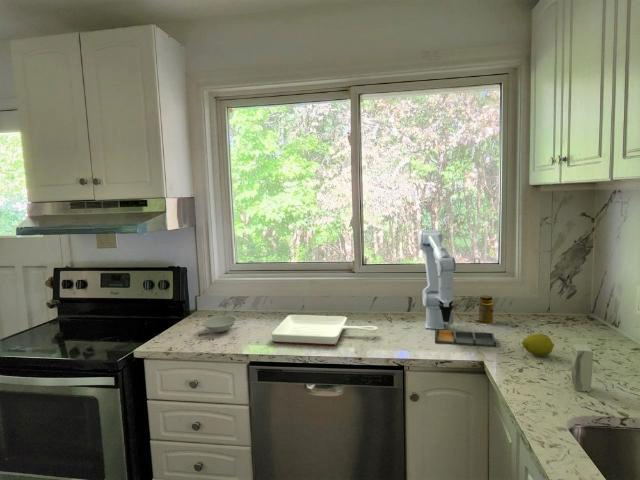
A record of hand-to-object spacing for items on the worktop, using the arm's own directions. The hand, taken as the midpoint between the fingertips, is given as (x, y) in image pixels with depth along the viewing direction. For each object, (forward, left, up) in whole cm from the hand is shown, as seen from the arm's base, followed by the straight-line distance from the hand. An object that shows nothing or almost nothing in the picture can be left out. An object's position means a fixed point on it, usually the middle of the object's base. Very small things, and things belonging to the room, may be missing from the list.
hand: (445, 319), depth 173 cm
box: (+36, +39, -9) cm, 54 cm away
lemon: (+11, +32, -9) cm, 35 cm away
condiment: (-27, +17, -9) cm, 33 cm away
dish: (+9, -99, -9) cm, 100 cm away
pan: (+4, -49, -9) cm, 50 cm away
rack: (0, +7, -8) cm, 11 cm away
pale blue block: (0, 0, -1) cm, 1 cm away
